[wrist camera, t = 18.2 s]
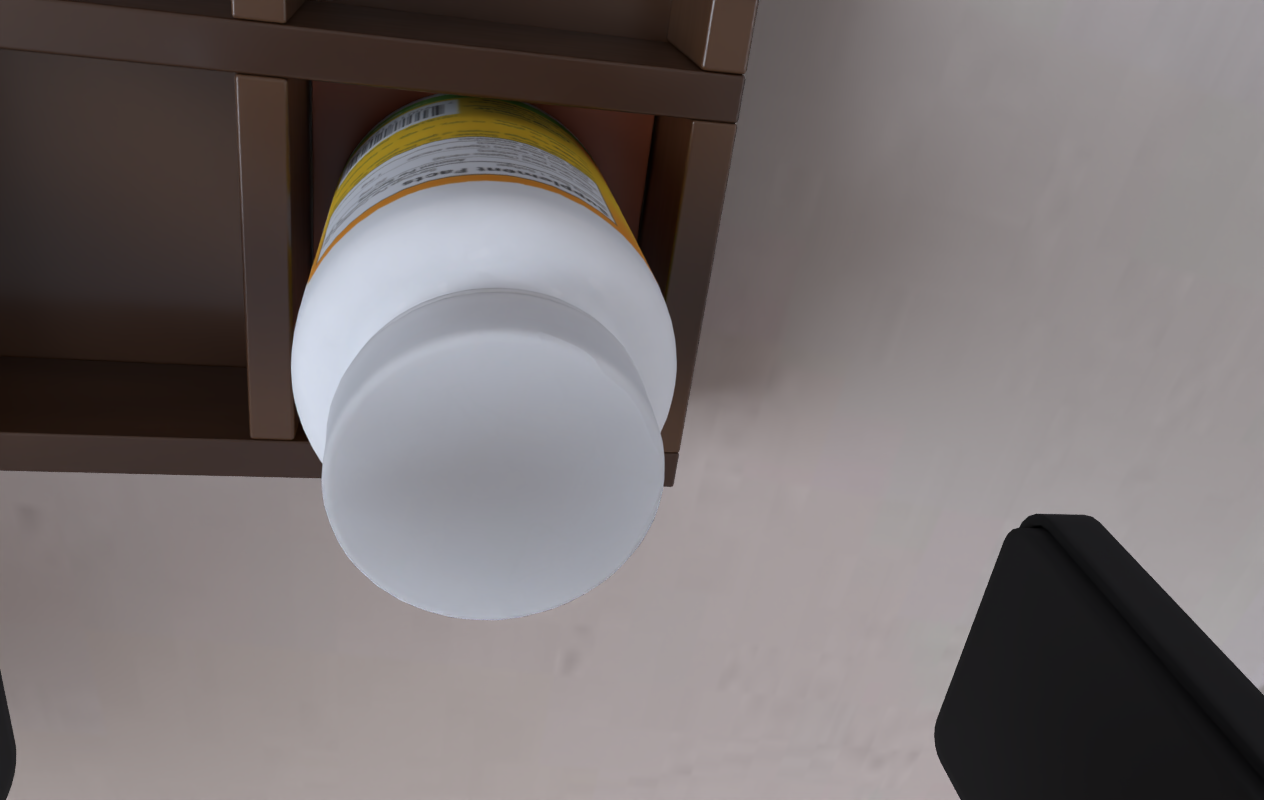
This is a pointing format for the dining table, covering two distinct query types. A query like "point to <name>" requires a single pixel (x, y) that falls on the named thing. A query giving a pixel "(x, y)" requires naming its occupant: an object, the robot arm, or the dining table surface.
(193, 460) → the wooden compartment tray
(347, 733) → the dining table surface
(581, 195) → the supplement bottle
